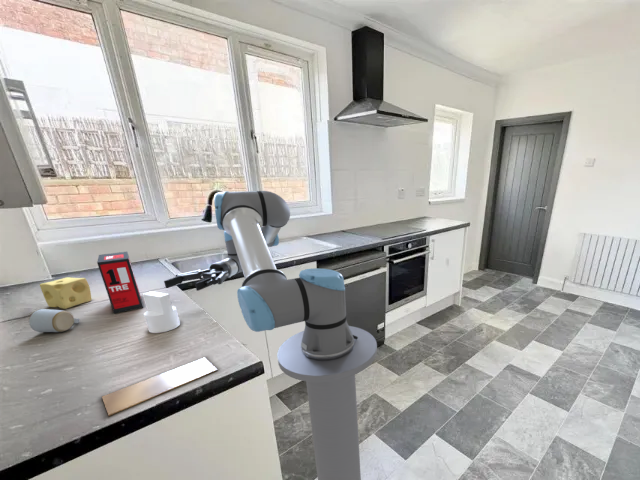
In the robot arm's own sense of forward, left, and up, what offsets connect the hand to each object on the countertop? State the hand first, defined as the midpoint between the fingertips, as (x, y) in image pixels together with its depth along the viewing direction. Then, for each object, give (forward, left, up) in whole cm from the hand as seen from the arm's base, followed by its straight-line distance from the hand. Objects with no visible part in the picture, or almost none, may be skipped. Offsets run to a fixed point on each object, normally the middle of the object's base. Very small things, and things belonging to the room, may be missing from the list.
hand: (180, 285), depth 111 cm
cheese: (+45, -38, -12) cm, 60 cm away
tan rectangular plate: (+1, +45, -12) cm, 46 cm away
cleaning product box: (+23, -25, -12) cm, 36 cm away
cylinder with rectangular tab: (+6, +7, -12) cm, 15 cm away
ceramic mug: (+38, -8, -12) cm, 41 cm away
